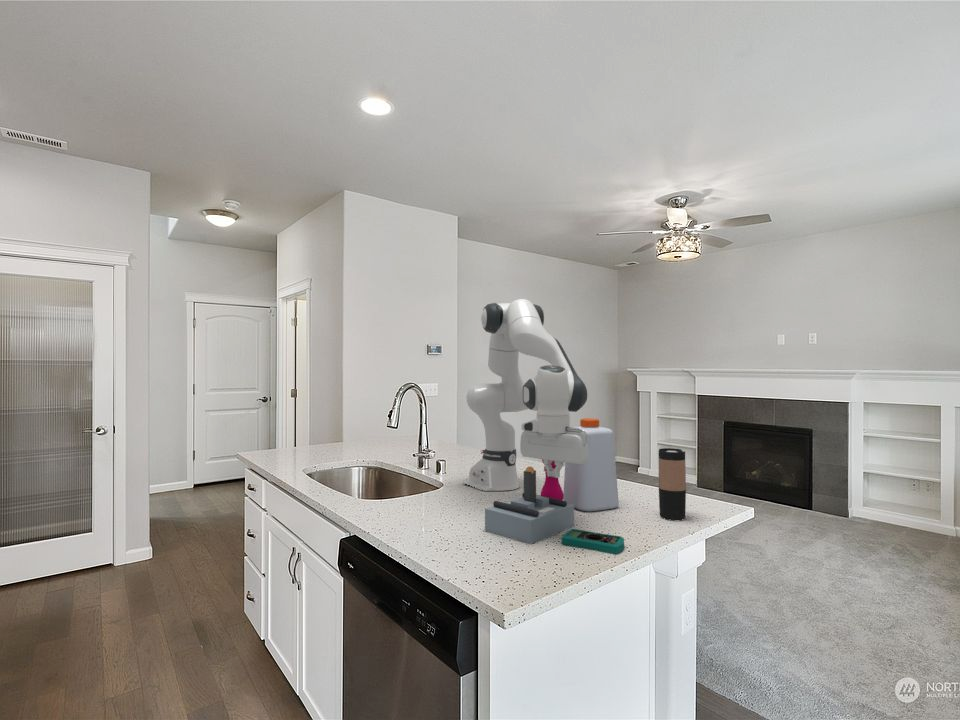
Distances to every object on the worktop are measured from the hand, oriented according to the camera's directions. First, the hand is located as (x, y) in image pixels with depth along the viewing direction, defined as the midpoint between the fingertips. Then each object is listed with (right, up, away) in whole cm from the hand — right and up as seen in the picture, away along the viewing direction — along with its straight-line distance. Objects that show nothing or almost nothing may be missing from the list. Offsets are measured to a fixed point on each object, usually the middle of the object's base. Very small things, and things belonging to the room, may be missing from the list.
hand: (553, 477), depth 135 cm
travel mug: (+38, -16, +15) cm, 44 cm away
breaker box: (-6, -16, +5) cm, 17 cm away
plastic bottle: (+16, -16, +29) cm, 37 cm away
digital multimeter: (+9, -16, -8) cm, 20 cm away
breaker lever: (-6, -9, +6) cm, 12 cm away
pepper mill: (+3, -16, +23) cm, 28 cm away
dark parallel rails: (-6, -10, +6) cm, 12 cm away
